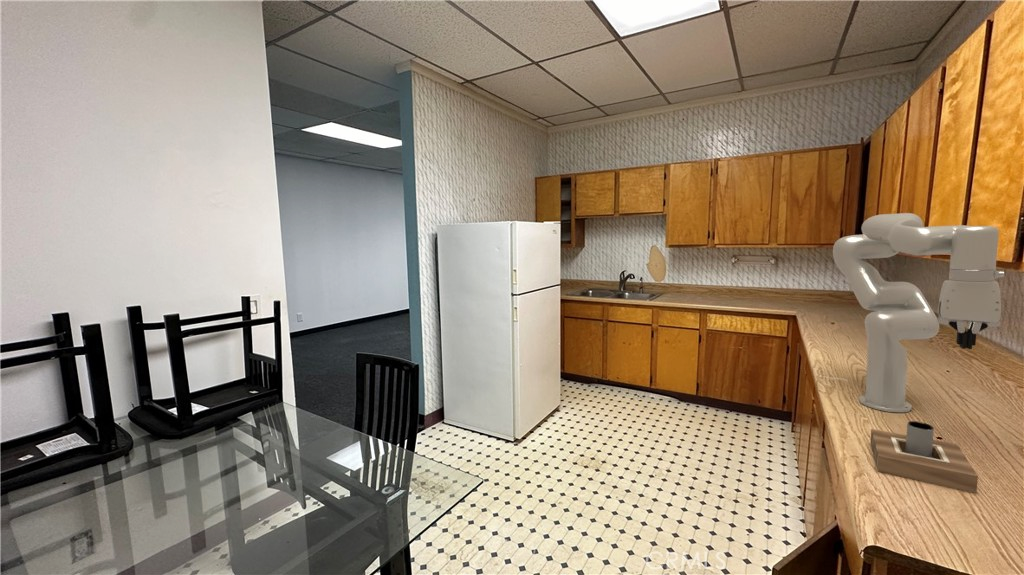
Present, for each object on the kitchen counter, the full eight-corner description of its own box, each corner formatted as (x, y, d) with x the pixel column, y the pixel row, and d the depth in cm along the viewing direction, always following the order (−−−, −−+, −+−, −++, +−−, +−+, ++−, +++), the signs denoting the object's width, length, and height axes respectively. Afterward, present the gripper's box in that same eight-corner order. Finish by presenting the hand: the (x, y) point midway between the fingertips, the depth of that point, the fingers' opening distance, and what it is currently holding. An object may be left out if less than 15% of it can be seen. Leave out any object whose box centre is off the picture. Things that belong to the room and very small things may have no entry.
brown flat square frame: (870, 442, 110) (871, 428, 109) (956, 459, 100) (957, 443, 100) (877, 471, 97) (878, 455, 97) (976, 493, 88) (977, 475, 87)
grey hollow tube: (903, 457, 102) (906, 419, 101) (929, 463, 99) (932, 424, 98) (905, 466, 99) (908, 426, 97) (932, 472, 96) (935, 431, 94)
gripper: (1012, 274, 98) (1005, 347, 101) (925, 274, 107) (921, 340, 110) (1024, 278, 92) (1016, 355, 95) (931, 277, 102) (926, 347, 104)
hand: (965, 347), depth 102 cm, fingers closed
